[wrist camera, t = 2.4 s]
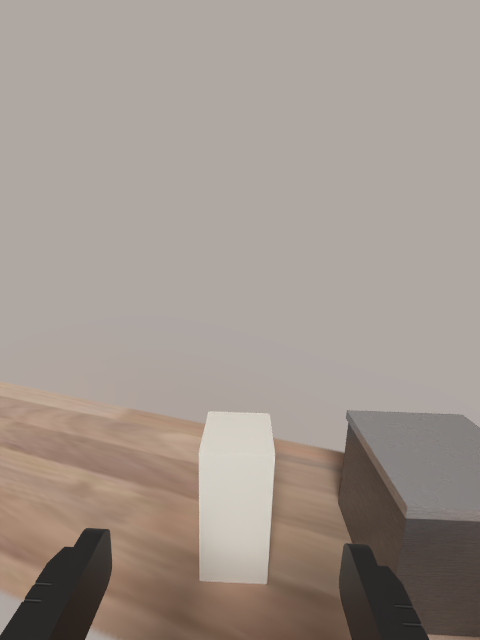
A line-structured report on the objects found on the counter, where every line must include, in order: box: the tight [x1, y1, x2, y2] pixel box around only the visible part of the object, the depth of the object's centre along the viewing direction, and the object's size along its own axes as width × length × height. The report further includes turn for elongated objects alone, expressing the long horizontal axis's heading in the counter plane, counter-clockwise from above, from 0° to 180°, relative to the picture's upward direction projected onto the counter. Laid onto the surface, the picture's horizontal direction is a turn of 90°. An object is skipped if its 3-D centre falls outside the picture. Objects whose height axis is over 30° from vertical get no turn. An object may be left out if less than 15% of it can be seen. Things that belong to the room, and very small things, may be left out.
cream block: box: [199, 411, 275, 584], centre depth 23 cm, size 5×5×11 cm
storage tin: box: [338, 410, 480, 637], centre depth 23 cm, size 10×10×10 cm
